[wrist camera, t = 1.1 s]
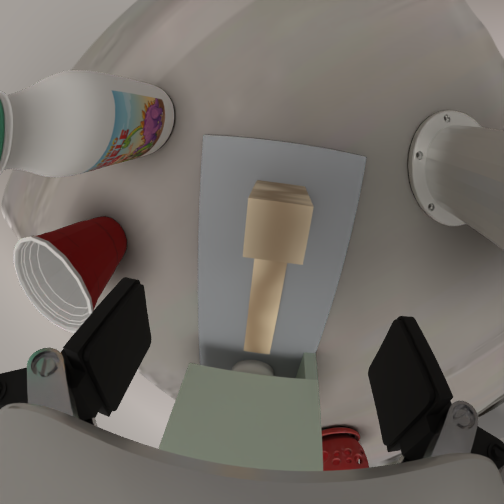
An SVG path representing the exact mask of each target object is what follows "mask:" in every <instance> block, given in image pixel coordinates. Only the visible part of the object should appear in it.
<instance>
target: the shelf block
mask: <svg viewBox="0 0 504 504" xmlns="http://www.w3.org/2000/svg"><path fill="white" fill-rule="evenodd" d="M159 449H160V450H164V451H167V452H171V453H175V454H178V455H182V456H187V457H191V458H195V459H200V460H205V461H210V462H215V463H221V464H227V465H233V466H240V467H248V468H258V469H269V470H284V471H323V450H322V430H321V413H320V399H319V386H318V374H317V364H316V353H306V352H304V354H303V357H302V360H301V363H300V366H299V369H298V372H297V375H296V378H286V377H276V376H267V375H259V374H251V373H244V372H237V371H231V370H225V369H219V368H214V367H208V366H203V365H198V364H193V363H189V365H188V368H187V371H186V374H185V376H184V379H183V382H182V384H181V387H180V390H179V393H178V395H177V398H176V401H175V404H174V407H173V409H172V412H171V415H170V418H169V421H168V423H167V426H166V429H165V432H164V435H163V438H162V440H161V443H160V446H159Z"/></svg>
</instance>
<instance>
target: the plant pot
mask: <svg viewBox="0 0 504 504" xmlns="http://www.w3.org/2000/svg"><path fill="white" fill-rule="evenodd" d="M359 439H360V435H359V433H358V432H357V431H355V430H353V429H350V428H345V427H338V428H329V429H325V430H322V450H323V471H336V470H351V469H362V468H369V465H368V461H367V457H366V455H365V452H364V450H363V448H362V446H361V445H360V444H359V442H358V441H359ZM358 459H360V464H359V463H358Z"/></svg>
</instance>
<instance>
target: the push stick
mask: <svg viewBox="0 0 504 504" xmlns="http://www.w3.org/2000/svg"><path fill="white" fill-rule="evenodd" d="M313 208H314V206H313V204H312V202H311V199H310V197H309V195H308V192H307V190H306V188H305V186H298V185H291V184H284V183H277V182H269V181H261V180H257V181H256V183H255V185H254V187H253V189H252V191H251V193H250V195H249V197H248V205H247V216H246V226H245V237H244V247H243V257H247V258H254V266H253V275H252V283H251V292H250V301H249V309H248V318H247V326H246V335H245V343H244V351H248V352H255V353H263V354H270V349H271V345H272V340H273V335H274V330H275V325H276V320H277V315H278V310H279V304H280V299H281V294H282V289H283V283H284V278H285V272H286V266H287V263H292V264H299V265H303V261H304V256H305V251H306V246H307V240H308V235H309V230H310V224H311V219H312V213H313Z"/></svg>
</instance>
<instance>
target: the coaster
mask: <svg viewBox="0 0 504 504" xmlns="http://www.w3.org/2000/svg"><path fill="white" fill-rule="evenodd" d="M231 371H237V372H244V373H251V374H259V375H267V376H274V375H275V374H274V370H273V369H272V367H271V366H269V365H268V364H266V363H264V362H262V361H258V360H243V361H240V362H238V363H236V364H235V365H234V366H233V367H232V370H231Z"/></svg>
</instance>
